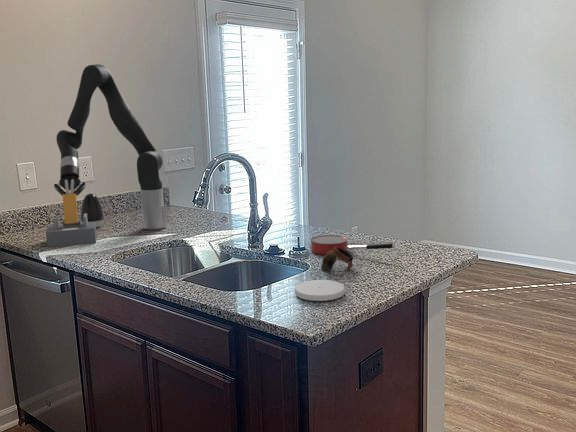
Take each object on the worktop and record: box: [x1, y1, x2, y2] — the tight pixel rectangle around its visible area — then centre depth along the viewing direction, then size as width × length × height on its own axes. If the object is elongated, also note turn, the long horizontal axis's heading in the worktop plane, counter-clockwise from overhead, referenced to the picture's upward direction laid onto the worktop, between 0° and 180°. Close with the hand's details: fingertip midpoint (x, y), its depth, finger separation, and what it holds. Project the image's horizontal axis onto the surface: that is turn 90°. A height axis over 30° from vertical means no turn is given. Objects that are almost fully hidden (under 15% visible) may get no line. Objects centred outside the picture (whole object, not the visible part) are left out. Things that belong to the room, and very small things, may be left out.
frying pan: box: [310, 234, 394, 256], centre depth 213 cm, size 32×13×6 cm, turn 56°
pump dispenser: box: [80, 193, 105, 229], centre depth 269 cm, size 10×10×15 cm
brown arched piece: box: [320, 247, 354, 272], centre depth 194 cm, size 12×10×8 cm
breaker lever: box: [62, 193, 81, 226], centre depth 246 cm, size 6×2×13 cm, turn 105°
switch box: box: [45, 213, 98, 248], centre depth 244 cm, size 18×13×10 cm
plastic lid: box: [294, 279, 346, 302], centre depth 172 cm, size 14×14×2 cm
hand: (70, 203), depth 248 cm, fingers closed
